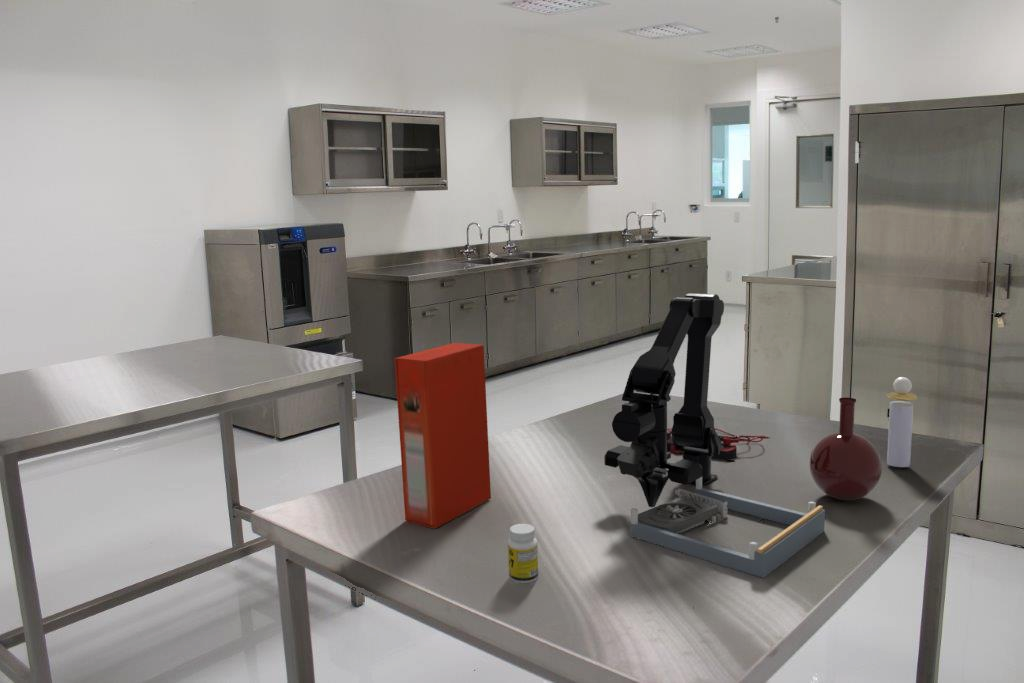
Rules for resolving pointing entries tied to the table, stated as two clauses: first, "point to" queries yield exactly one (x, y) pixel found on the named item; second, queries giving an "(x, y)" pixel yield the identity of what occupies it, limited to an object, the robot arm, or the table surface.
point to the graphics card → (683, 513)
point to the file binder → (443, 432)
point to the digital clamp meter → (726, 448)
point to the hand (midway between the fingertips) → (652, 506)
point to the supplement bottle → (523, 554)
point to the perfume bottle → (900, 423)
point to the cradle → (757, 560)
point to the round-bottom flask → (845, 460)
